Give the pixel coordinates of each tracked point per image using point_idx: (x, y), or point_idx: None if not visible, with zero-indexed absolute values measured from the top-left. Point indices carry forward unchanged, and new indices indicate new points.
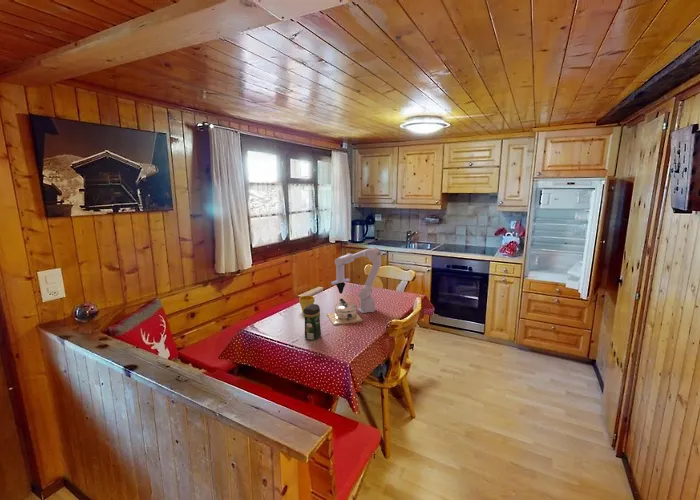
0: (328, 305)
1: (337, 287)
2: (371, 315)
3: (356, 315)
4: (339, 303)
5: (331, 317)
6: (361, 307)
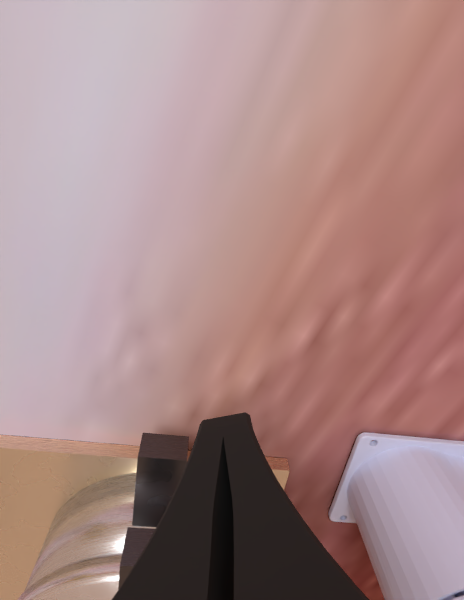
0: (76, 136)
1: (138, 558)
2: (365, 564)
3: None
4: (93, 588)
5: (9, 533)
6: (360, 531)
